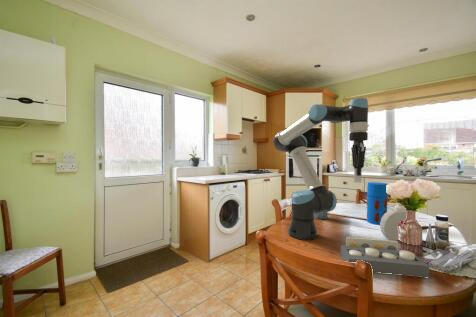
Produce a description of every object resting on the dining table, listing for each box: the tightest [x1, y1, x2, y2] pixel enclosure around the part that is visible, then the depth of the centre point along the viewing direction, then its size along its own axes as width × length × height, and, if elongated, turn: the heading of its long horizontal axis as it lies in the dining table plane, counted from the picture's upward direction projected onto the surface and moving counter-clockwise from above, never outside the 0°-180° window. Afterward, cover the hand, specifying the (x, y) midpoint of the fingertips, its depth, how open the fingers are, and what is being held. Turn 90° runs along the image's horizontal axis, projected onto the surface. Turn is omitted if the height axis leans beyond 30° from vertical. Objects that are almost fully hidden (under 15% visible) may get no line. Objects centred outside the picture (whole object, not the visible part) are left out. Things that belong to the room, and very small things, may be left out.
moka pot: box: [314, 212, 329, 220], centre depth 149 cm, size 10×15×20 cm, turn 107°
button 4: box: [399, 249, 415, 261], centre depth 83 cm, size 5×5×3 cm
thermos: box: [366, 181, 388, 226], centre depth 138 cm, size 11×11×25 cm
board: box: [340, 245, 430, 278], centre depth 85 cm, size 26×12×4 cm, turn 78°
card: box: [345, 236, 399, 250], centre depth 94 cm, size 20×1×7 cm, turn 78°
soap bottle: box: [379, 202, 419, 241], centre depth 112 cm, size 16×5×20 cm, turn 80°
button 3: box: [382, 253, 396, 259], centre depth 84 cm, size 5×5×3 cm
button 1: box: [349, 250, 362, 256], centre depth 87 cm, size 5×5×3 cm
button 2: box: [365, 248, 379, 257], centre depth 86 cm, size 5×5×3 cm
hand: (357, 182), depth 103 cm, fingers closed
